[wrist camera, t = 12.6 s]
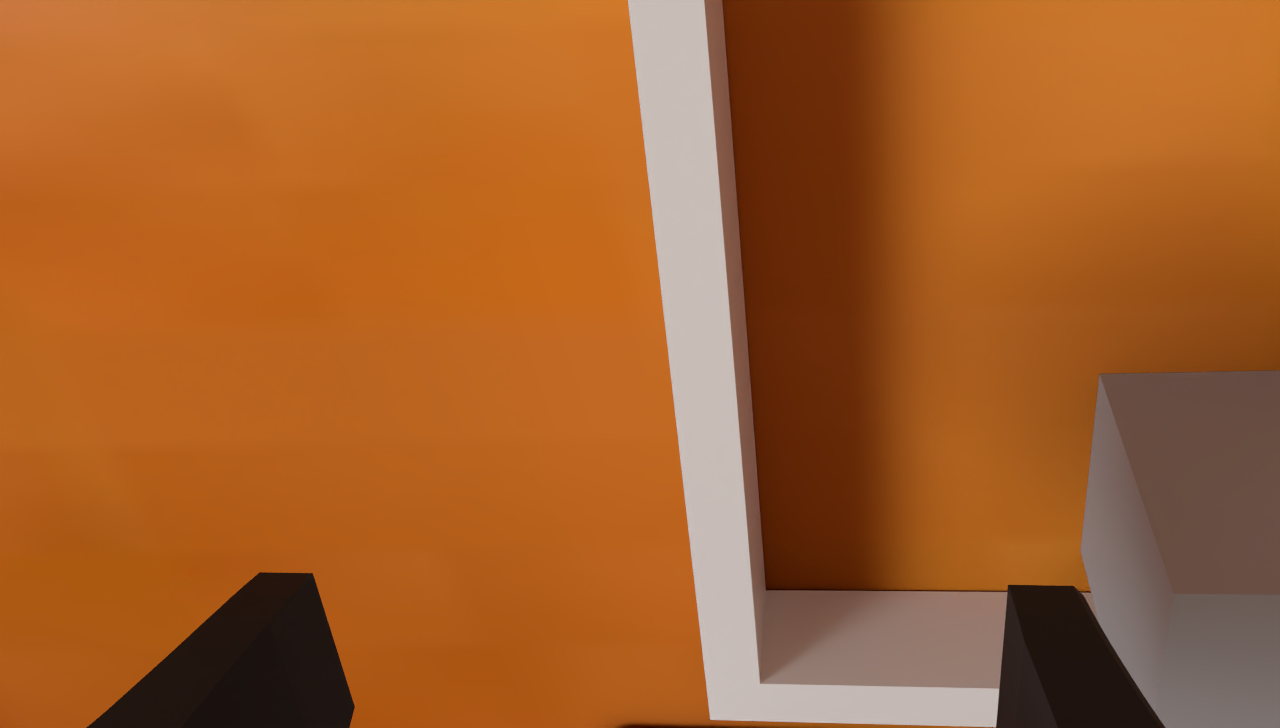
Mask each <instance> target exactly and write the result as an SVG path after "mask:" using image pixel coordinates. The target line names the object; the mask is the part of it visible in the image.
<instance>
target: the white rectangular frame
mask: <svg viewBox="0 0 1280 728" xmlns="http://www.w3.org/2000/svg"><path fill="white" fill-rule="evenodd" d="M628 5H629V13H630V22H631V31H632V40H633V48H634V57H635V66H636V74H637V83H638V92H639V101H640V109H641V118H642V127H643V136H644V144H645V153H646V162H647V171H648V179H649V188H650V197H651V206H652V214H653V223H654V232H655V241H656V249H657V258H658V267H659V276H660V284H661V293H662V302H663V311H664V319H665V328H666V337H667V345H668V354H669V363H670V372H671V380H672V389H673V398H674V407H675V415H676V424H677V433H678V442H679V450H680V459H681V468H682V477H683V485H684V494H685V503H686V512H687V520H688V529H689V538H690V547H691V555H692V564H693V573H694V581H695V590H696V599H697V608H698V616H699V625H700V634H701V643H702V651H703V660H704V669H705V678H706V686H707V695H708V704H709V713H710V720H737V721H776V722H816V723H855V724H894V725H933V726H973V727H996V722H997V710H998V699H999V687H1000V675H1001V663H1002V651H1003V640H1004V628H1005V616H1006V604H1007V593H1008V592H940V591H808V590H766V586H765V572H764V559H763V545H762V532H761V518H760V505H759V491H758V478H757V464H756V450H755V437H754V423H753V410H752V396H751V383H750V369H749V356H748V342H747V329H746V315H745V302H744V288H743V275H742V261H741V248H740V234H739V220H738V207H737V193H736V180H735V166H734V153H733V139H732V126H731V112H730V99H729V85H728V72H727V58H726V45H725V31H724V17H723V4H722V0H628ZM1082 594H1083V595H1084V597H1085V599H1086V601H1087V603H1088V604H1089V606H1090V608H1091V610H1092V612H1093V614H1094V615H1095V617H1096V619H1097V621H1098V617H1097V613H1096V609H1095V605H1094V601H1093V598H1092V594H1091V593H1082ZM1098 622H1099V621H1098Z"/></svg>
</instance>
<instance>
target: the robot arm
mask: <svg viewBox="0 0 1280 728" xmlns="http://www.w3.org/2000/svg"><path fill="white" fill-rule="evenodd" d="M354 707H355V706H354V703H353V700H352V697H351V694H350V691H349V687H348V684H347V681H346V678H345V675H344V671H343V668H342V665H341V662H340V659H339V656H338V652H337V649H336V646H335V643H334V640H333V637H332V633H331V630H330V627H329V624H328V621H327V617H326V614H325V611H324V608H323V605H322V602H321V598H320V595H319V592H318V589H317V586H316V582H315V579H314V576H313V573H259V574H257V575H256V576H255V577H254V578H253V579H252V580H250V581H249V582H248V583H247V584H246V585H245V586H243V587H242V588H241V589H240V590H239V591H238V592H237V593H236V594H234V595H233V596H232V597H231V598H230V599H229V600H228V601H227V602H226V603H225V604H223V605H222V606H221V607H220V608H219V609H218V610H217V611H216V612H215V613H214V614H213V615H212V616H210V617H209V618H208V619H207V620H206V621H205V622H204V623H203V624H202V625H201V626H200V627H199V628H197V629H196V630H195V631H194V632H193V633H192V634H191V635H190V636H189V637H188V638H187V639H186V640H184V641H183V642H182V643H181V644H180V645H179V646H178V647H177V648H176V649H175V650H174V651H173V652H171V653H170V654H169V655H168V656H167V657H166V658H165V659H164V660H163V661H162V662H160V663H159V664H158V665H157V666H156V667H155V668H154V669H153V670H152V671H150V672H149V673H148V674H147V675H146V676H145V677H144V678H143V679H142V680H140V681H139V682H138V683H137V684H136V685H135V686H134V687H133V688H132V689H130V690H129V691H128V692H127V693H126V694H125V695H124V696H123V697H122V698H120V699H119V700H118V701H117V702H116V703H115V704H114V705H113V706H112V707H110V708H109V709H108V710H107V711H106V712H105V713H104V714H102V715H101V716H100V717H99V718H98V719H96V720H95V721H94V722H93V723H92V724H90V725H89V726H88V727H87V728H349V727H350V723H351V719H352V715H353V711H354ZM996 728H1165V726H1164V725H1163V723H1162V722H1161V721H1160V719H1159V718H1158V716H1157V715H1156V713H1155V712H1154V710H1153V709H1152V707H1151V706H1150V704H1149V703H1148V701H1147V700H1146V698H1145V697H1144V695H1143V694H1142V692H1141V691H1140V689H1139V688H1138V686H1137V685H1136V683H1135V681H1134V680H1133V678H1132V677H1131V675H1130V674H1129V672H1128V671H1127V669H1126V667H1125V666H1124V664H1123V663H1122V661H1121V659H1120V658H1119V656H1118V655H1117V653H1116V651H1115V650H1114V648H1113V646H1112V645H1111V643H1110V641H1109V640H1108V638H1107V636H1106V635H1105V633H1104V631H1103V630H1102V628H1101V626H1100V624H1099V622H1098V621H1097V619H1096V617H1095V615H1094V614H1093V612H1092V610H1091V608H1090V606H1089V604H1088V603H1087V601H1086V599H1085V597H1084V595H1083V594H1082V593H1080V592H1079V591H1078V590H1077V589H1076V588H1075V587H1074V586H1038V585H1008V593H1007V604H1006V616H1005V628H1004V640H1003V651H1002V663H1001V675H1000V687H999V699H998V710H997V722H996Z"/></svg>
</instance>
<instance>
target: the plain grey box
mask: <svg viewBox="0 0 1280 728" xmlns="http://www.w3.org/2000/svg"><path fill="white" fill-rule="evenodd" d="M1081 555H1082V559H1083V563H1084V566H1085V570H1086V574H1087V578H1088V582H1089V586H1090V590H1091V594H1092V598H1093V601H1094V605H1095V609H1096V613H1097V617H1098V621H1099V624H1100V626H1101V628H1102V630H1103V631H1104V633H1105V635H1106V636H1107V638H1108V640H1109V641H1110V643H1111V645H1112V646H1113V648H1114V650H1115V651H1116V653H1117V655H1118V656H1119V658H1120V659H1121V661H1122V663H1123V664H1124V666H1125V667H1126V669H1127V671H1128V672H1129V674H1130V675H1131V677H1132V678H1133V680H1134V681H1135V683H1136V685H1137V686H1138V688H1139V689H1140V691H1141V692H1142V694H1143V695H1144V697H1145V698H1146V700H1147V701H1148V703H1149V704H1150V706H1151V707H1152V709H1153V710H1154V712H1155V713H1156V715H1157V716H1158V718H1159V719H1160V721H1161V722H1162V723H1163V725H1164V726H1165V728H1280V370H1274V371H1224V372H1173V373H1123V374H1099V384H1098V393H1097V402H1096V412H1095V421H1094V430H1093V440H1092V449H1091V458H1090V468H1089V477H1088V487H1087V496H1086V505H1085V515H1084V524H1083V533H1082V543H1081Z"/></svg>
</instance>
